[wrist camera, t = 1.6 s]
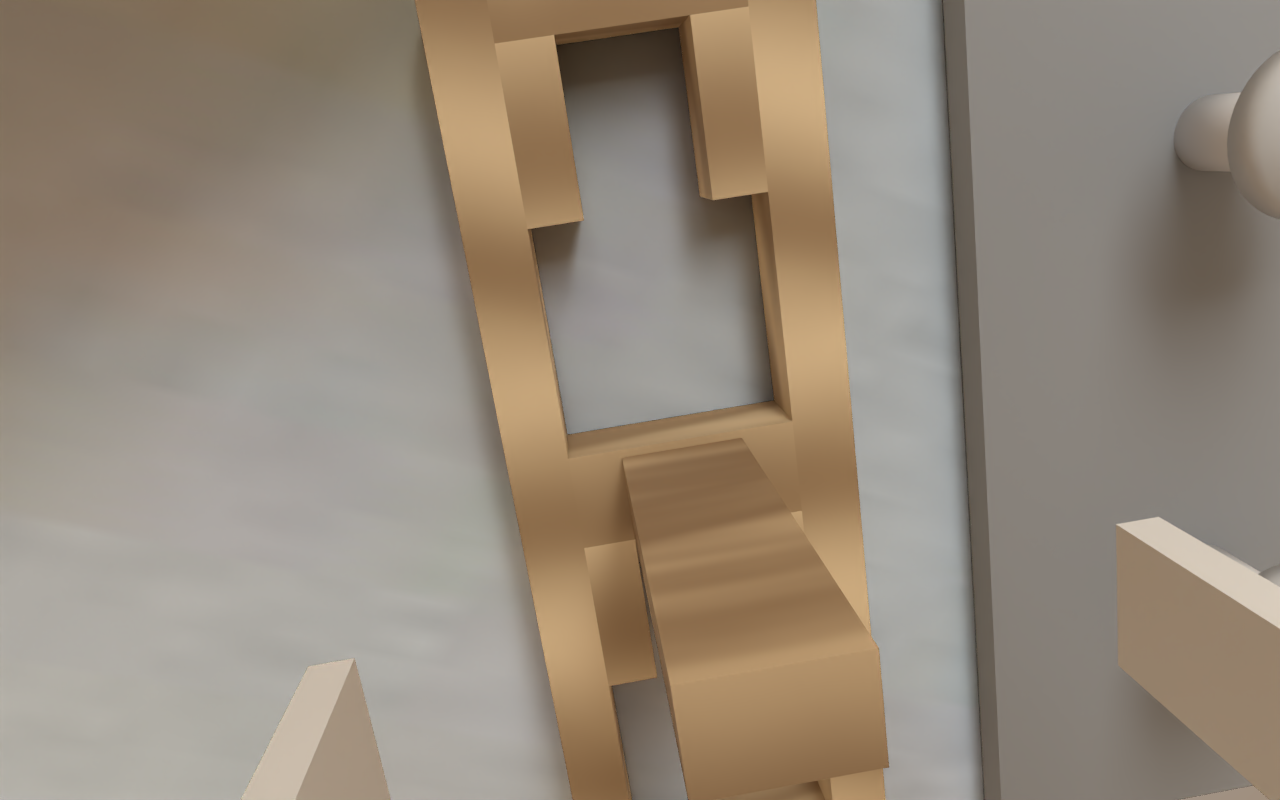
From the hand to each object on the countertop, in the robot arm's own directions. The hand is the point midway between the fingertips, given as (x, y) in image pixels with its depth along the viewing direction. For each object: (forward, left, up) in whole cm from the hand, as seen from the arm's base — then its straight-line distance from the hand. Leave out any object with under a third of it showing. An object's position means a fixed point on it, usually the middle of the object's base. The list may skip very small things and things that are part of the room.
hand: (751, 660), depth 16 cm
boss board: (-1, +14, -10) cm, 17 cm away
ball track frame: (0, 0, -10) cm, 10 cm away
